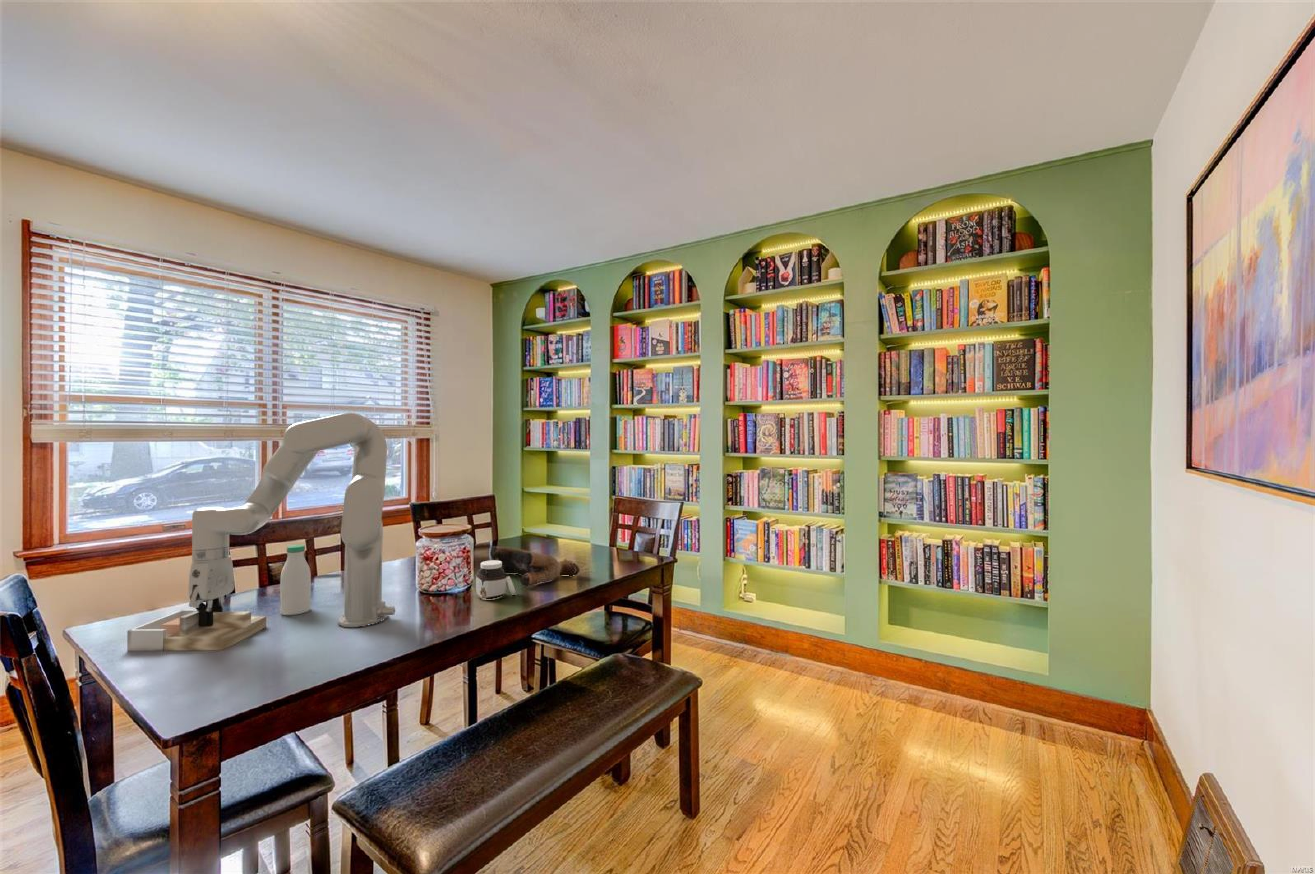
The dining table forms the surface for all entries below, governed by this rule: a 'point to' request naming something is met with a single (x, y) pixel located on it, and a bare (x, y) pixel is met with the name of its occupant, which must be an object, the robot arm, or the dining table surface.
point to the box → (151, 633)
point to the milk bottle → (295, 583)
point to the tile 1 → (172, 627)
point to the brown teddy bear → (532, 565)
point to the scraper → (215, 621)
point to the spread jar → (492, 580)
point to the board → (213, 637)
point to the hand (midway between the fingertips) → (210, 623)
